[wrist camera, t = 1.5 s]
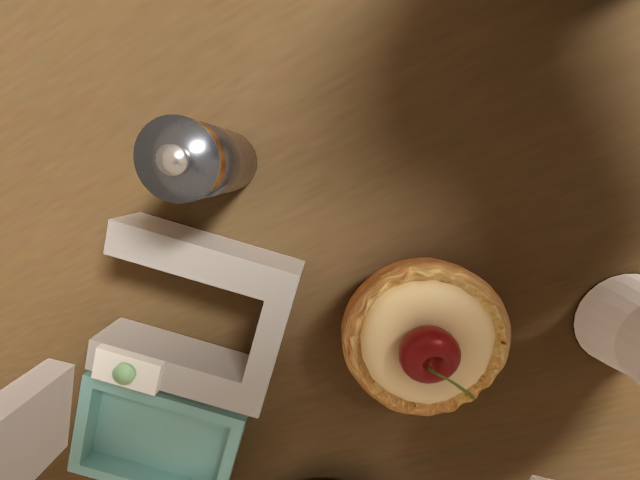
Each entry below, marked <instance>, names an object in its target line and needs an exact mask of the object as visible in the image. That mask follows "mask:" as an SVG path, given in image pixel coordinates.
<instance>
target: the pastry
mask: <svg viewBox="0 0 640 480" xmlns="http://www.w3.org/2000/svg"><path fill="white" fill-rule="evenodd" d="M341 338H342V349H343V354H344V359H345V362H346V364H347V367H348V369H349V371H350V372H351V373H352V375H353V377H354V378H355V379H356V381H357V382H358V383H359V384H360V386H361V387H362V388H363V389H364V390H365V391H366V392H367V393H368V394H369V395H370V396H371V397H373V398H374V399H376V400H377V401H378V402H380V403H381V404H382V405H384V406H385V407H387V408H388V409H390V410H392V411H395V412H399V413H402V414H408V415H419V416H433V415H437V414H441V413H447V412H454V411H456V410H457V409H458V408H459V407H460V406H461V405H462V404H464V403H467V402H472V401H474V400H475V399H476V398H477V397H478V395H479V393H480V392H481V390H483V389H485V388H487V387H489V386H490V385H492V383H493V381H494V380H495V378H496V377H497V375H498V374H499V372H500V371H501V370H502V369H503V367H504V366H505V364H506V361H507V358H508V354H509V350H510V345H511V325H510V320H509V316H508V313H507V311H506V309H505V306H504V304H503V302H502V300H501V299H500V297H499V296H498V294H497V293H496V292H495V291H494V289H493V288H492V287H491V286H490V285H489V284H488V283H487V282H486V281H484V280H483V279H482V278H480V277H479V276H477V275H476V274H474V273H472V272H470V271H469V270H467V269H465V268H463V267H461V266H459V265H457V264H454V263H451V262H448V261H444V260H440V259H435V258H429V257H421V258H410V259H404V260H401V261H397V262H395V263H392V264H389V265H386V266H384V267H382V268H380V269H379V270H377V271H376V272H375V273H374V274H373V275H371V276H370V277H368V278H367V279H366V280H365V281H364V282H363V283H362V284H361V285H360V286H359V288H358V289H357V290H356V292H355V293H354V294H353V296H352V297H351V299H350V300H349V302H348V304H347V307H346V310H345V313H344V316H343V319H342V323H341Z"/></svg>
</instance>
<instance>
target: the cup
mask: <svg viewBox="0 0 640 480" xmlns="http://www.w3.org/2000/svg"><path fill="white" fill-rule="evenodd" d="M574 330H575V336H576V338H577V340H578V342H579V344H580V346H581V347H582V348H583V349H584V350H585V351H586V352H587V353H588V354H589V355H591V356H592V357H594V358H596V359H598V360H599V361H601V362H603V363H605V364H607V365H608V366H610V367H612V368H614V369H616V370H618V371H620V372H622V373H624V374H626V375H628V376H630V377H631V378H632V379H633V380H634V381H635V382H636V383H637V384H638V385H639V386H640V274H622V275H618V276H614V277H611V278H609V279H607V280H605V281H603V282H601V283H599V284H597V285H596V286H595V287H594V288H592V289H591V290H590V291H589V292H588V293H587V294H586V295H585V297H584V298H583V299H582V301H581V302H580V304H579V306H578V309H577V311H576V313H575V319H574Z"/></svg>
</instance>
